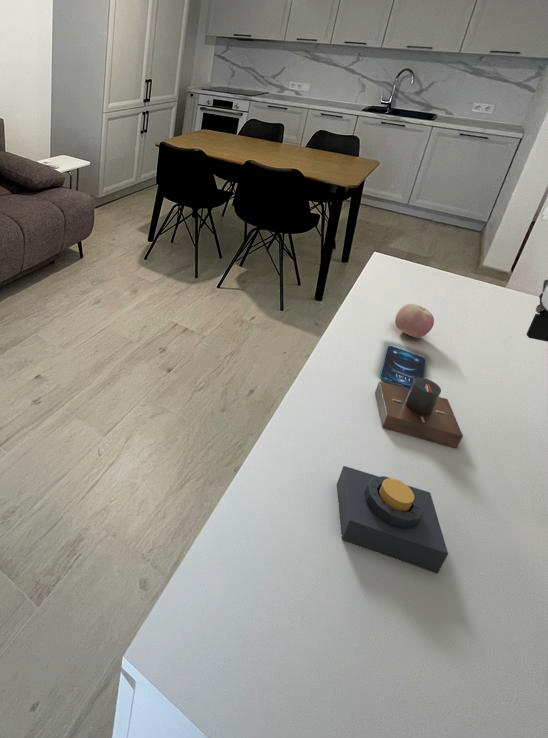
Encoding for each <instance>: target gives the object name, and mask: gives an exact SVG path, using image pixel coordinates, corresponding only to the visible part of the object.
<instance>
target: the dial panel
mask: <svg viewBox="0 0 548 738" xmlns="http://www.w3.org/2000/svg"><path fill="white" fill-rule="evenodd" d="M409 390H410V389H407V388H403V387H399V386H395V385H393V384H390V383H388V382H384V381H378V383H377V385H376V388H375V391H374V395H375V401H376V404H377V405H376V406H377V410H378V414H379V419H380V423H381V428H383V429H387V430H390V431H393V432H397V433H401V434H404V435H408V436H410V437H415V438H418V439H422V440H425V441H429V442H432V443H436V444H440V445H443V446H447V447H450V448H453V449H458V447H459V445H460V444H461V441H462V439H463V433H462V430H461V428H460V425H459V423H458V421H457V418H456V416H455V414H454V411H453V408H452V407H451V404H450V401H449V399H448V398H444V397H441V396H439V398H438V400H437V402H436V404H435V407H434V409H433V411H432V413H431V414H430V415H422V414H418V413H416V412H414V411H412V410H411V409H410V408H408V406H407V405H406V403H405V400H406V398H407V395H408V393H409Z"/></svg>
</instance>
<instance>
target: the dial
mask: <svg viewBox="0 0 548 738" xmlns="http://www.w3.org/2000/svg"><path fill="white" fill-rule="evenodd" d="M441 394H442V388H441V387H440V385H439V384H437V383H436V382H434V381H432V380H430V379H428V378H425V377H424V378H415V379H414V380H413V383H412V385H411V388H410V390H409V393H408V395H407V398H406V400H405V403H406V405H407V406H408V408H410V409H411V410H412V411H414V412H416V413H418V414H422V415H430V414H431V413H432V411H433V409H434V407H435V404H436V402H437V400H438V398H439V397H440V396H441Z"/></svg>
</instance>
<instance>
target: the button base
mask: <svg viewBox="0 0 548 738" xmlns="http://www.w3.org/2000/svg"><path fill="white" fill-rule="evenodd" d="M340 471H341V472H340V474H339V477H338V479H337V482H336V492H337V502H338V503H339V504H338V503H337V504H338V514H340V515H339V524H340V525H341V526H340V525H339V526H340V532H341V533H340V535H342V536H341V541H343V542H346V543H349V544H351V543H352V544H351V545H354V544H355V546H357V545H358V546H357V547H360V546H361V547H360V548H363V549H366V550H368V551H371V550H372V552H374V551H375V552H374V553H377V552H378V553H377V554H380V553H381V554H380V555H383V556H385V557H389V558H391V557H392V558H391V559H394V558H395V559H394V560H397V559H398V561H400V560H401V561H400V562H403V563H405V564H406V563H407V564H408V565H411V564H412V566H414V565H415V566H414V567H417V566H418V567H417V568H420V567H421V568H420V569H423V570H426V571H429V572H431V571H432V573H434V572H435V574H439V572H440V570H441V568H442V567H443V564H444V562H445V561H446V559H447V557H448V555H449V552H448V548H447V545H446V542H445V538H444V534H443V531H442V528H441V524H440V521H439V517H438V515H437V511H436V507H435V504H434V501H433V497H432V493H431V492H430V491H427V490H424V489H420V488H417V487H414V486H410V485H408V484H406V485H407V486H408V487H409V488H410V489H411V490H412V492H413V494H414V501H413V503H412V505H411V507H410V509H409V510H408V511H398V510H395V509H393V508H391V507H390V506H388V505H387V504H385V503H384V501H383V500H382V499H381V497H380V494H379V490H380V488H381V485H382V483H383V481H384V480H385V479H388V478H389V477H388V476H384V475H382V476H381V475H380V476H379V475H375V474H372V473H369V472H366V471H362V470H359V469H356V468H353V467H349V466H346V465H343V466H342V469H341V470H340Z"/></svg>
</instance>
